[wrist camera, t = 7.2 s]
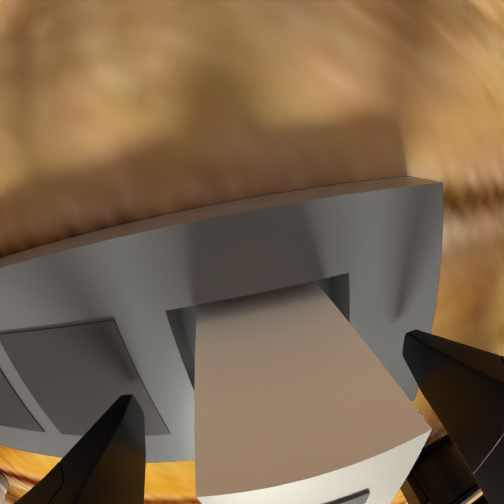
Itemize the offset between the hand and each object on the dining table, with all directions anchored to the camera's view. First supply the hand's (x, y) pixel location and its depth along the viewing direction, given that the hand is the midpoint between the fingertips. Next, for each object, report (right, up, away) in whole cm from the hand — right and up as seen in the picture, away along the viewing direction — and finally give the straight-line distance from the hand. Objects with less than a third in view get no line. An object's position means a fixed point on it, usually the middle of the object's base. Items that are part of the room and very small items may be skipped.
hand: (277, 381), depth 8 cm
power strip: (-10, -1, +2) cm, 10 cm away
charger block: (0, +1, +2) cm, 2 cm away
